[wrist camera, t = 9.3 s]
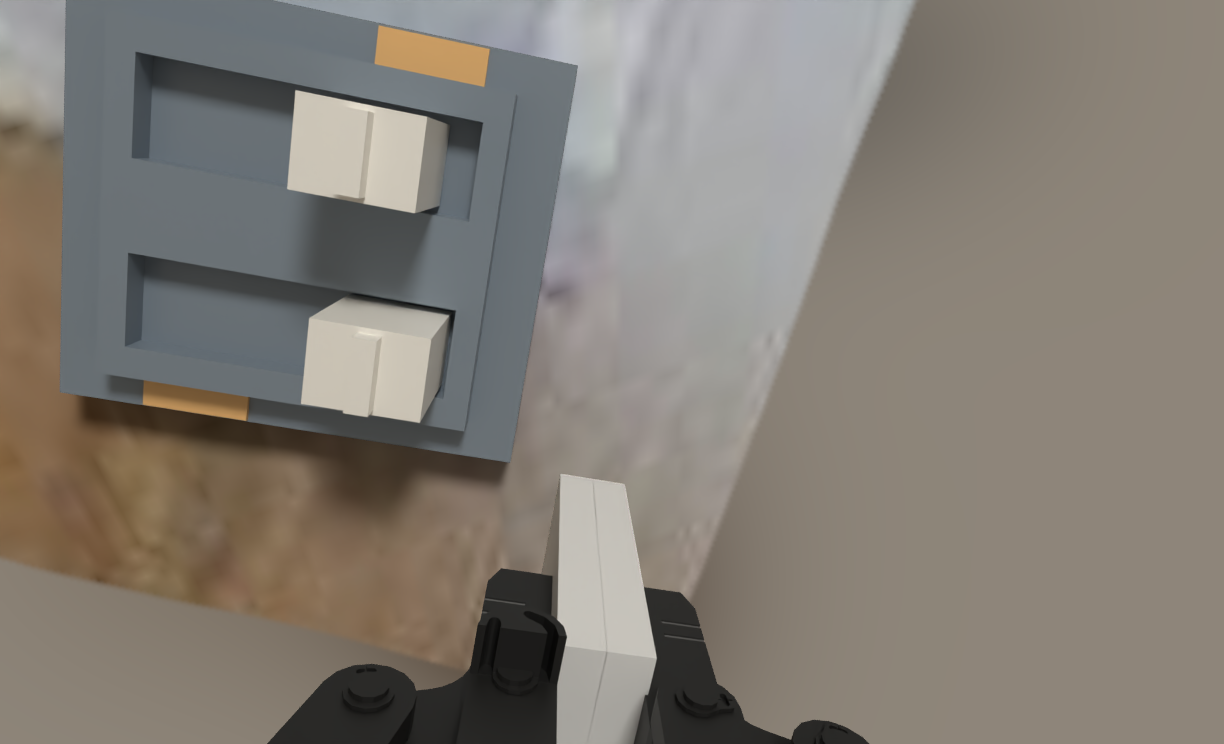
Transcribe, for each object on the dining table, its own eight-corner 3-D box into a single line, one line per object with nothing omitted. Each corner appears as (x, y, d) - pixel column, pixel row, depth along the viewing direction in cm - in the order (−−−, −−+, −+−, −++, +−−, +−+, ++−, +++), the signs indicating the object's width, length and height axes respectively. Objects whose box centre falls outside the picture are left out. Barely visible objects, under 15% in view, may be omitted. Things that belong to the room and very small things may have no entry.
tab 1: (333, 185, 29) (277, 190, 23) (341, 103, 28) (286, 87, 23) (439, 205, 29) (410, 214, 24) (450, 125, 29) (422, 115, 23)
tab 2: (342, 366, 31) (292, 410, 25) (350, 293, 30) (301, 322, 24) (442, 383, 31) (415, 430, 26) (452, 311, 30) (427, 344, 25)
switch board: (89, 378, 32) (39, 401, 29) (100, -30, 28) (43, -54, 25) (513, 446, 34) (508, 473, 31) (576, 71, 30) (578, 61, 27)
